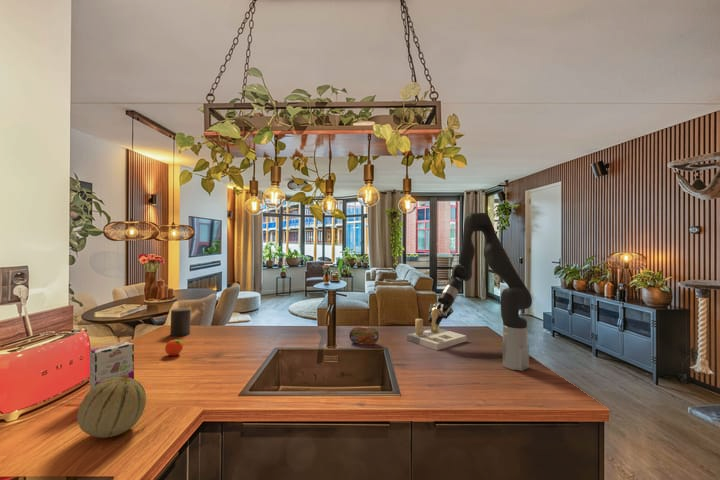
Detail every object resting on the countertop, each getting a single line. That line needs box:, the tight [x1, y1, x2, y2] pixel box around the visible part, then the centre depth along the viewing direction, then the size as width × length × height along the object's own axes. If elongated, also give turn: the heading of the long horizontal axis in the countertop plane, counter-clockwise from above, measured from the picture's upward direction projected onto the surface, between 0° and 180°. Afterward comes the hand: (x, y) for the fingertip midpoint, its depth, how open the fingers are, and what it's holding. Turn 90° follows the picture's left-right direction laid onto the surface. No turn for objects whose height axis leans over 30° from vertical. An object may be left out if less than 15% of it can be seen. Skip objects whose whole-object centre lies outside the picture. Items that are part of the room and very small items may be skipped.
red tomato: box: [164, 339, 184, 356], centre depth 148 cm, size 8×7×7 cm
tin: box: [348, 326, 380, 346], centre depth 168 cm, size 15×3×8 cm, turn 80°
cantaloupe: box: [77, 374, 147, 439], centre depth 88 cm, size 15×15×15 cm
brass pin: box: [430, 308, 441, 333], centre depth 166 cm, size 4×4×12 cm
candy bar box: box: [89, 341, 135, 391], centre depth 109 cm, size 11×5×16 cm, turn 148°
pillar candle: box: [169, 307, 192, 337], centre depth 181 cm, size 10×10×15 cm
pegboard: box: [406, 318, 467, 351], centre depth 174 cm, size 20×24×11 cm
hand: (433, 322), depth 164 cm, fingers closed on brass pin, 4 cm apart
